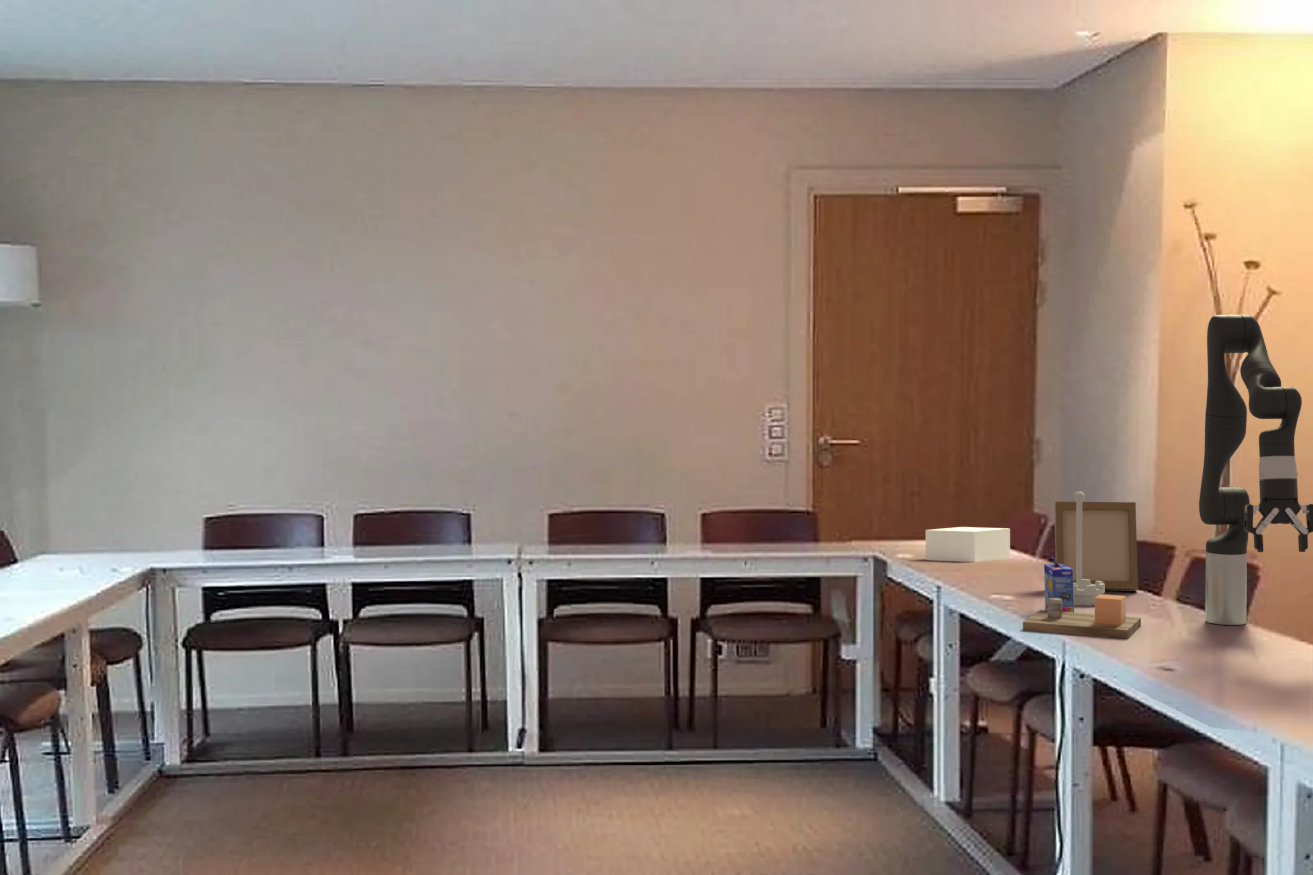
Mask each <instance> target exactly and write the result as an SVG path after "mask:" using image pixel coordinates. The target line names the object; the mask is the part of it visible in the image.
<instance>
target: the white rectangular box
mask: <svg viewBox="0 0 1313 875" xmlns="http://www.w3.org/2000/svg"><path fill="white" fill-rule="evenodd" d="M1007 559H1011V528H1005V527H1003V528H1002V527H977V526H976V527H975V526H973V527H972V526H971V527H970V526H957V527H945V528H943V527H942V528H936V529H935V528H933V529H925V561H941V562H943V561H945V562H966V563H976V562H977V563H978V562H979V563H980V562H987V561H997V560H998V561H999V560H1007Z"/></svg>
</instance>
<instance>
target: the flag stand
mask: <svg viewBox="0 0 1313 875" xmlns="http://www.w3.org/2000/svg"><path fill="white" fill-rule="evenodd" d="M1073 499H1074V502H1076V583H1073V587H1074V606H1095V597H1097V596H1098V595H1099V594H1104V593H1106V590H1105V584H1103V582H1102V581H1095V584H1091V580H1089V579H1082V502H1085V499H1086V495H1085V492H1083V491H1076V492H1074V493H1073Z"/></svg>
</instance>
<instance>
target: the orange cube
mask: <svg viewBox="0 0 1313 875" xmlns="http://www.w3.org/2000/svg"><path fill="white" fill-rule="evenodd" d="M1126 604H1127V597H1126V595H1116V594H1115V595H1114V594H1104V593H1103V594H1099V595H1098V596H1097V597H1095V605H1094V614H1095V623H1102V624H1115V625H1122V624H1123V623H1124V622H1125V621H1126V617H1127V615H1126V614H1127V612H1126V611H1127V605H1126Z"/></svg>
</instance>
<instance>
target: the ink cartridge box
mask: <svg viewBox="0 0 1313 875" xmlns="http://www.w3.org/2000/svg"><path fill="white" fill-rule="evenodd" d="M1050 559H1051V560H1052V562H1053V563H1044V564H1043V566H1044V567H1043V568H1044V570H1043V572H1044V573H1043V574H1044V610H1046V611H1048V610H1047V608H1048V604H1047V602H1048V599H1049V598H1059V599H1062V612H1073V613H1075V605H1074V587H1073V569H1072V568H1070V567H1068V566H1067V565H1065V564H1058V562H1057V561H1056V557H1055V558H1054V557H1053V556H1050Z"/></svg>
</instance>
